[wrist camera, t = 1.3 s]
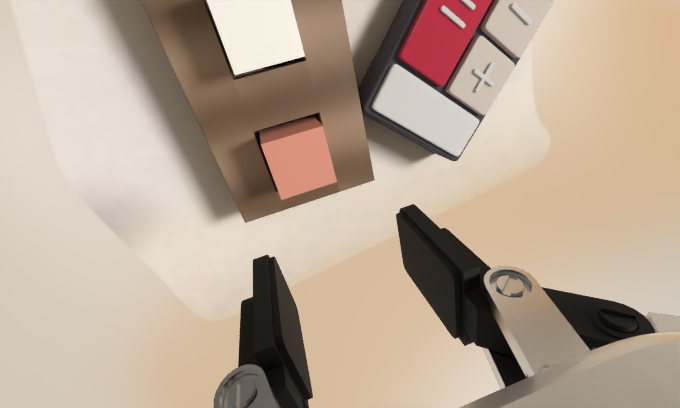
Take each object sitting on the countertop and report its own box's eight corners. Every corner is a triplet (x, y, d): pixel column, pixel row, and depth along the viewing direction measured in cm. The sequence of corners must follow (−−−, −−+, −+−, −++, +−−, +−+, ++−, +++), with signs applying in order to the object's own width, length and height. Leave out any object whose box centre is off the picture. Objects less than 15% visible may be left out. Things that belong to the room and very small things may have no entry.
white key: (210, -2, 19) (201, -14, 16) (277, -18, 20) (282, -33, 16) (237, 71, 21) (234, 75, 18) (296, 55, 22) (305, 56, 19)
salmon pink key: (259, 131, 24) (260, 144, 20) (312, 115, 24) (322, 125, 21) (277, 180, 26) (281, 199, 22) (326, 165, 26) (337, 181, 23)
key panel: (140, -26, 19) (122, -39, 16) (317, -64, 20) (326, -81, 18) (245, 207, 28) (245, 222, 25) (363, 169, 29) (374, 180, 27)
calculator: (564, -1, 24) (462, 165, 27) (520, 8, 27) (435, 154, 31) (474, -106, 19) (365, 111, 23) (436, -77, 23) (348, 106, 26)
